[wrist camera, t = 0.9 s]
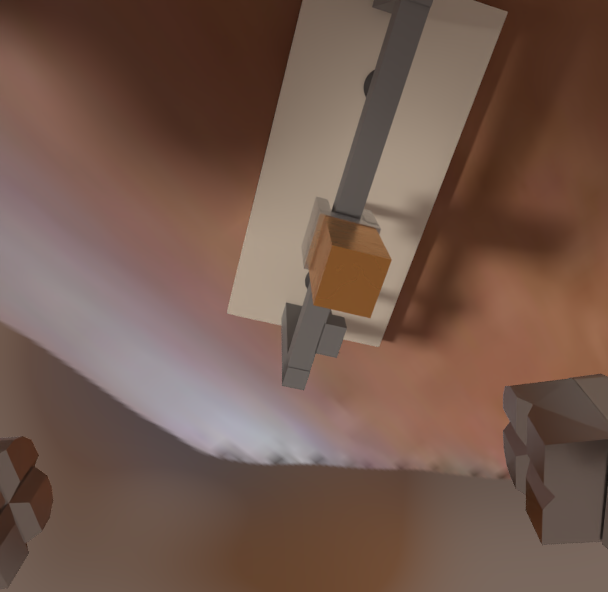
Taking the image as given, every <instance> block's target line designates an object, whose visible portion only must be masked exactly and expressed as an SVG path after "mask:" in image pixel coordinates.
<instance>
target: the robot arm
mask: <svg viewBox="0 0 608 592" xmlns="http://www.w3.org/2000/svg"><path fill="white" fill-rule="evenodd" d="M503 409H504V411H505V413H506V415H507V416H508V418H509V420H510V423H509V424H508V425H507V426H506V428H505V429H504V430H503V440H504V452H505V458H506V464H507V467H508V471H509V474H510V477H511V479H512V481H513V484H514V486H515V488H516V489H517V490H518V491H520V492H522V493H523V494H525V495H526V512H527V514H528V516H529V519H530V521H531V522H532V525H533V527H534V529H535V531H536V533H537V535H538V538H539V540H540V542H541V544H542V545H546V544H565V543H584V542H602V545H604V546H605V547H606V548H607V549H608V377H607V376H605V375H603V374H594V375H587V376H580V377H573V378H568V379H562V380H553V381H545V382H537V383H529V384H521V385H512V386H505V389H504V394H503ZM38 456H39V455H38V453H37V451H36V449H35V447H34V444H33V442H32V441H31V440H30V439H28V438H25V437H23V436H20V437H8V438H0V589H4V588H8V587H9V586H10V584H11V582H12V581H13V579H14V577H15V576H16V574H17V572H18V571H19V569H20V567H21V566H22V564H23V562H24V561H25V559H26V557H27V556H28V554H29V551H28V546H27V542H29V541H30V540H31V539H33V538H34V537H35V536H37V535H38V534H39V533H41V532H42V530H43V529H44V527H45V525H46V523H47V522H48V520H49V518H50V514H51V508H52V504H53V494H52V487H51V484H50V482H49V479H48V476H47V475H46V474H44V473H43V472H42V471H40V470H39V469H38V468H36V467H35V464H36V461H37V459H38Z"/></svg>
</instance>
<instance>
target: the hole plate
mask: <svg viewBox="0 0 608 592" xmlns="http://www.w3.org/2000/svg"><path fill="white" fill-rule="evenodd" d="M507 13H508V12H507V11H504V10H501V9H498V8H495V7H492V6H489V5H486V4H483V3H480V2H477V1H474V0H302V4H301V8H300V12H299V16H298V20H297V25H296V29H295V33H294V37H293V41H292V45H291V49H290V53H289V58H288V62H287V66H286V70H285V74H284V78H283V82H282V87H281V91H280V95H279V99H278V103H277V107H276V111H275V115H274V120H273V124H272V128H271V132H270V136H269V140H268V144H267V148H266V153H265V157H264V161H263V165H262V169H261V173H260V177H259V181H258V186H257V190H256V194H255V198H254V202H253V206H252V210H251V214H250V219H249V223H248V227H247V231H246V235H245V239H244V243H243V247H242V252H241V256H240V260H239V264H238V268H237V272H236V276H235V281H234V285H233V289H232V293H231V297H230V301H229V305H228V311H227V314H232V315H236V316H241V317H245V318H250V319H254V320H259V321H263V322H268V323H272V324H277V325H281V326H282V386H286V387H290V388H295V389H300V390H304V389H305V386H306V383H307V380H308V377H309V374H310V370H311V367H312V364H313V361H314V357H315V354H316V353H317V354H322V355H326V356H331V357H335V358H337V355H338V352H339V350H340V347H341V344H342V341H343V339H344V340H349V341H353V342H358V343H362V344H367V345H371V346H376V347H379V345H380V343H381V340H382V338H383V335H384V332H385V330H386V327H387V325H388V322H389V319H390V317H391V314H392V312H393V309H394V307H395V304H396V301H397V299H398V296H399V294H400V291H401V288H402V286H403V283H404V281H405V278H406V275H407V273H408V270H409V268H410V265H411V262H412V260H413V257H414V255H415V252H416V249H417V247H418V244H419V242H420V239H421V236H422V234H423V231H424V229H425V226H426V224H427V221H428V218H429V216H430V213H431V211H432V208H433V205H434V203H435V200H436V198H437V195H438V192H439V190H440V187H441V185H442V182H443V179H444V177H445V174H446V172H447V169H448V166H449V164H450V161H451V159H452V156H453V153H454V151H455V148H456V146H457V143H458V141H459V138H460V135H461V133H462V130H463V128H464V125H465V122H466V120H467V117H468V115H469V112H470V109H471V107H472V104H473V102H474V99H475V96H476V94H477V91H478V89H479V86H480V83H481V81H482V78H483V76H484V73H485V70H486V68H487V65H488V63H489V60H490V57H491V55H492V52H493V50H494V47H495V45H496V42H497V39H498V37H499V34H500V32H501V29H502V26H503V24H504V21H505V19H506V16H507ZM316 196H317V197H321V198H324V199H328V202H329V205H330V208H331V212H334V213H338V214H342V215H346V216H349V217H353V218H357V219H361V216H362V213H363V210H364V209H367V210H370V211H372V213H373V215H374V217H375V219H376V221H377V222H378V224H379V226H380V228H381V231H380V234H379V235H380V237H381V239H382V241H383V243H384V245H385V247H386V249H387V251H388V253H389V255H390V257H391V259H392V261H391V264H390V266H389V269H388V272H387V274H386V277H385V280H384V283H383V285H382V288H381V291H380V293H379V296H378V299H377V302H376V304H375V307H374V310H373V312H372V315H371V318H367V317H362V316H358V315H354V314H349V313H345V312H341V311H336V310H332V309H328V308H323V307H319V306H314V305H313V299H312V291H311V283H310V276H309V270H308V269H304V267H303V257H302V248H301V246H302V243H303V239H304V236H305V232H306V229H307V226H308V222H309V219H310V215H311V212H312V208H313V205H314V201H315V198H316Z"/></svg>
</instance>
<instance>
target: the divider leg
mask: <svg viewBox="0 0 608 592" xmlns="http://www.w3.org/2000/svg"><path fill="white" fill-rule="evenodd" d="M380 231H381V228H380V226H379V224H378V222H377V221H376V219H375V217H374V215H373V213H372V211H370V210H367V209H364V210H363V213H362V216H361V219H357V218H353V217H349V216H346V215H342V214H338V213H334V212H331V208H330V205H329V202H328V199H324V198H321V197H317V196H316V198H315V201H314V205H313V208H312V212H311V215H310V219H309V222H308V226H307V229H306V232H305V236H304V239H303V243H302V246H301V248H302V257H303V267H304V269H308V270H309V276H310V283H311V291H312V299H313V305H314V306H319V307H323V308H328V309H332V310H336V311H341V312H345V313H349V314H354V315H358V316H362V317H367V318H371V315H372V312H373V310H374V307H375V304H376V302H377V299H378V296H379V293H380V291H381V288H382V285H383V283H384V280H385V277H386V274H387V272H388V269H389V266H390V264H391V261H392V259H391V257H390V255H389V253H388V251H387V249H386V247H385V245H384V243H383V241H382V239H381V237H380V235H379V234H380Z"/></svg>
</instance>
